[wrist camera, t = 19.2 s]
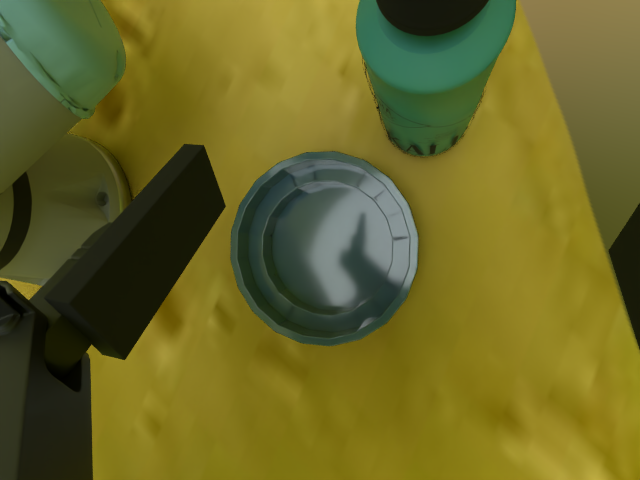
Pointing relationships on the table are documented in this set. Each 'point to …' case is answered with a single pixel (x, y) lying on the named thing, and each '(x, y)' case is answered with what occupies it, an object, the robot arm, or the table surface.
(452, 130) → the beverage bottle
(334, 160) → the dish
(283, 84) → the table surface
